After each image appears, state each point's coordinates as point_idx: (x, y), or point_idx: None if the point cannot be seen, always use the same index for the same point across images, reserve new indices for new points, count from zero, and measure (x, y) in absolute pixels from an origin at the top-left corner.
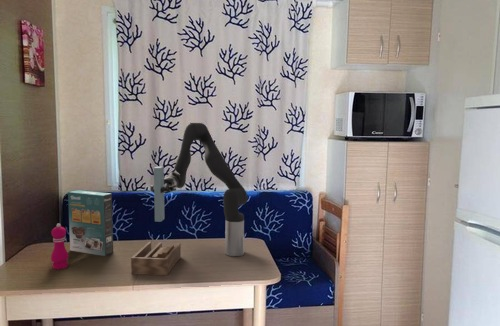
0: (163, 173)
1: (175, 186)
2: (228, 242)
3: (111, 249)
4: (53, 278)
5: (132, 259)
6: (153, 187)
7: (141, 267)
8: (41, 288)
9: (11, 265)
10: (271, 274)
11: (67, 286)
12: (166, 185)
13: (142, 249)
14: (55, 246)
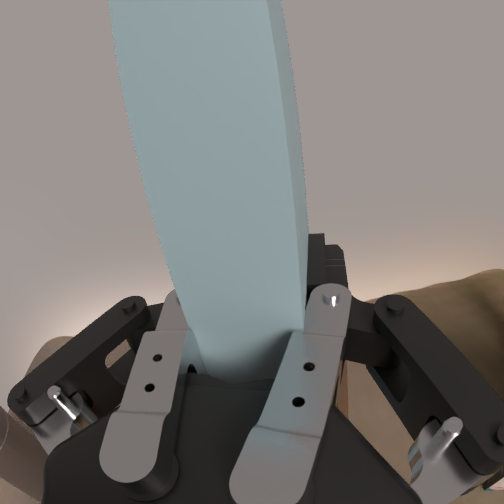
0: (135, 79)
1: (29, 391)
2: (40, 446)
3: (492, 477)
4: (484, 309)
5: None
6: (372, 317)
7: None
8: (464, 279)
9: None
10: (43, 352)
11: (432, 290)
12: (144, 346)
13: (339, 393)
14: None
